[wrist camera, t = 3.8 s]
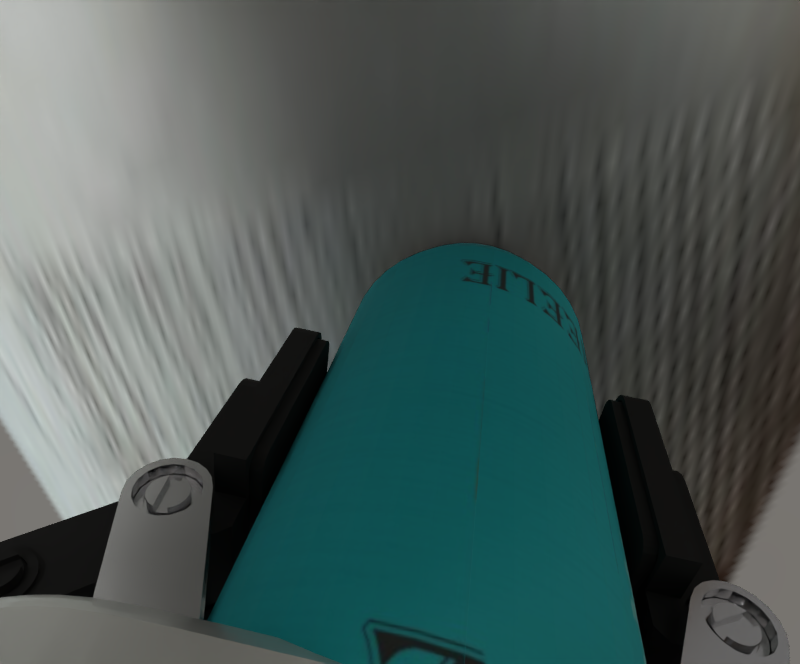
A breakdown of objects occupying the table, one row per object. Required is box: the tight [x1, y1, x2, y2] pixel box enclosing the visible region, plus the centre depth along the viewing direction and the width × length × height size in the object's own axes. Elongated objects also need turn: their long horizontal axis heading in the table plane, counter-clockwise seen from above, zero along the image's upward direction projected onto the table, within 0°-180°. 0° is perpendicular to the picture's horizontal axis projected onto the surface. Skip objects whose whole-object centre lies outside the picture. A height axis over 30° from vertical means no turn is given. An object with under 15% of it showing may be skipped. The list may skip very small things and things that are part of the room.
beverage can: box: [207, 243, 646, 664], centre depth 10 cm, size 6×6×15 cm
